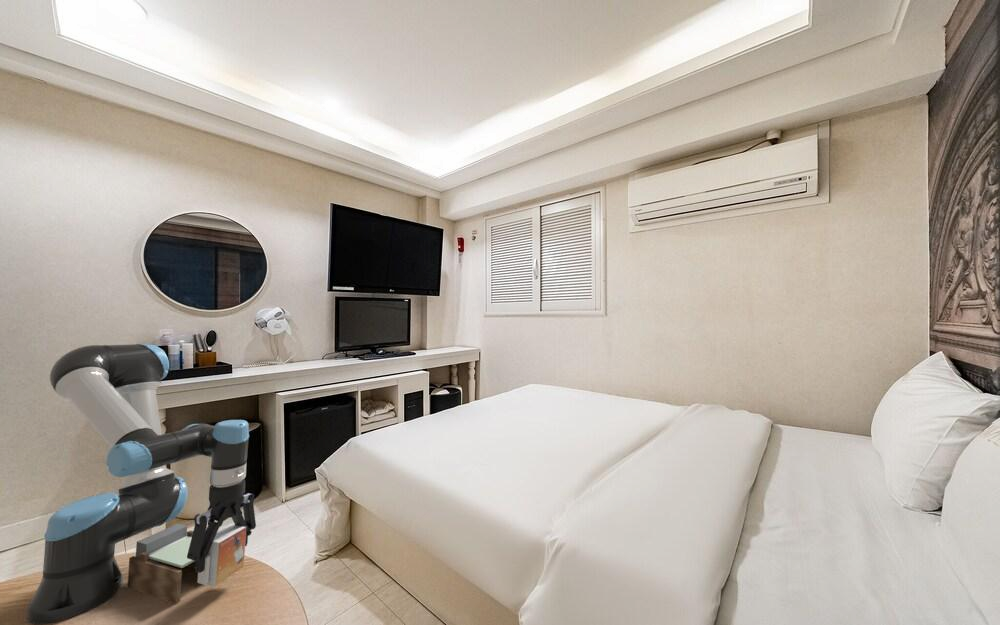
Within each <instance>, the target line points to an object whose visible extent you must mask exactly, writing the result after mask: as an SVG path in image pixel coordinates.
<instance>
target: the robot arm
mask: <svg viewBox="0 0 1000 625" xmlns="http://www.w3.org/2000/svg"><path fill="white" fill-rule="evenodd" d="M169 370H170V362H169V358H168V356H167V354H166V351H165V350H164V349H162V348H160V347H159V346H157V345H154V344H143V343H136V344H109V345H107V344H104V345H103V344H102V345H99V344H93V345H86V346H80V347H77V348H76V349H73V350H70V351H69V352H66V353H65V354H64V355H62V356H61V357H60V358H59V359H58V360H56V362H55V363H54V364H53V366H52V368H51V370H50V373H49V382H50V385H51V386H52V389H53V390H54V391H55V392H56V393H57V395H58V396H60V397H62V398H64V399H69V400H70V401H71V402H72V404H73V405H74V406H75V407H76V408H77V410H79V412H80V413H81V414H82V415H83V417H84V418H85V419H86V420H87V421H88V423H89V424H90V425H91V426H92V427H93V428H94V429H95V431H96V432H97V433H98V435H100V437H101V438H102V439H103V440H104V441H105V443H107V444H106V445H108V446H109V448H110V450H109V451H108V453H107V456H106V467H107V466H108V472H109V473H110V474H111V475H112V476H114V477H116V478H122V477H124V481H123V483H122V484H121V485H120V486H119V487H118V488H117V489H118V494H117V493H115V492H103V493H99V494H96V495H91V496H86V497H84V498H81V499H79V500H76V501H74V502H71V503H69V504H66V505H65V506H62V507H61V508H59V509H58V510H57V511H55V512H54V513H53V514H52V515H51V517H49V520H48V521H47V526H46V531H45V533H44V554H43V556H44V557H43V565H42V566H43V567H42V569H43V570H42V577H41V578H42V579H41V581H40V583H39V585H38V587H37V589H36V591H35V593H34V595H33V597H32V598H31V601H30V603H29V605H28V608H27V617H26V618H27V621H28V623H31V624H37V623H38V624H37V625H39V624H41V623H42V624H50V623H54V622H59V621H62V620H66V619H69V618H72V617H75V616H78V615H80V614H83V613H85V612H87V611H90V610H92V609H93V608H96V607H99V605H101V604H103V603H105V602H106V601H107V600H109V599H111V598H112V597H113V596H114V595H116V594H117V593H118V592H119V590H120V589H121V587H122V585H123V574H122V570H121V569H120V567H119V565H118V563H117V559H116V558H115V551H116V550H115V548H116V545H117V544H118V543H119V542H122V541H124V540H127V539H129V538H131V537H134V536H137V535H139V534H141V533H144V532H146V531H149V530H151V529H154V528H157V527H159V526H162V525H163V524H165V523H168V522H169V521H171V520H174V519H175V518H176V517H178V516H179V515H180V514H181V513H182V511H183V509H184V508H185V506H186V504H187V500H188V492H189V491H188V485H187V483H186V482H185V480H184V478H183V477H179V476H175V471H174V470H172V469H170V468H167V465H170V464H175V463H178V462H181V461H185V460H188V459H191V458H194V457H195V458H196V457H199V456H205V457H209V458H210V457H211V461H210V462H211V463H210V473H209V474H210V476H209V484H210V486H209V489H208V490H209V491H208V501H209V502H208V503H209V506H208V507H207V510H206V511H205V512H203V513H202V514H199V513H197V514H195V516H194V517H193V520H194V527H193V530H192V531H193V535H192V539H191V543H190V546H189V550H188V554H187V558H188V559H191V560H194V561H196V568H194V569H195V572H197V582H196V583H198V584H200V585H203V586H207V585H206V584H208V583H209V569H210V556H209V555H207V554H208V552H209V550H210V547H211V545H212V543H213V540H214V538H215V536H216V534H217V532H218V531H219V528H220V527H222V526H223V524H224V521H226V520H228V519H229V518H230V519H231V520H232V521H233V523H234V524H233V525H236V526H240V527H246V540H245V547H247V546H248V541H249V536H251V535H252V532H253V531H252V530H255V529H256V527H257V524H256V515H255V507H254V500H255V494H254V493H249V492H246V479H245V478H246V476H247V459H248V448H249V438H250V432H249V429H250V428H249V422H248V421H247V420H244V419H228V420H223V421H220V422H219V421H218V422H217V423H216V424H215V425H211V424H208V423H207V424H206V423H192V424H190V425H187V426H186V427H184V428H182V429H181V430H177V431H173V432H168V433H167V432H166V433H162V426H161V420H160V413H159V405H158V398H157V389H158V388H159V387H160V386H161V385H162V380H163V379H164V378H166V377H167V375H168V373H169ZM241 506H242V509H241ZM245 556H246V555H245V553H244V557H245Z"/></svg>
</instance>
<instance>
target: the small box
mask: <svg viewBox="0 0 1000 625" xmlns="http://www.w3.org/2000/svg"><path fill="white" fill-rule="evenodd" d="M245 540H246V527H240V526H236V525H235V524H233V523H232V524H231V523H230V524H228V525H227V526H225V527H223V528H221V529H220V530H219V529H218V531H217V534H216V536H215V538H214V540H213V543H212V545H211V547H210V550H209V552H208V554H207V555H209V556H210V569H209V583H208V584H206V585H205V586H207V585H208V586H212V587H216V586H218V585H219V584H221V583H222V582H224V581H225V580H226V579H228V578H229V577H231V576H232V575H234V574H235V573H237V572H238V571H240V570H241V569H243V568H244V563H245V556H244V553H245V552H246V546H245Z"/></svg>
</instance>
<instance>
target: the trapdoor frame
mask: <svg viewBox="0 0 1000 625" xmlns="http://www.w3.org/2000/svg"><path fill="white" fill-rule="evenodd" d="M193 531H194V530H187V536H189V537H192V535H193ZM128 559H129V560H128V572H127V587H126V588H128V589H131V590H134V591H138V592H140V593H143V594H146V595H149V596H152V597H154V598H155V597H156V598H158V599H161V600H164V601H166V602H170V603H173V604H179V603H180V602H181V594H182V592H181V590H182V589H181V588H182V577H183V576H182V575H183V570H182V569H178V568H175V567H173V565H170V564H166V563H163V562H160V561H158V562H156V563H155V562H152V561H148V559H149V553H146V552H142V553H140V558H138V557H136V555H135V556H134V555H133V556H130V557H129V558H128ZM187 567H191V568H194V569H195V568H196V561H194V562H192V563H190V564H189V565H187Z"/></svg>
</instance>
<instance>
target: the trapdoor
mask: <svg viewBox="0 0 1000 625" xmlns="http://www.w3.org/2000/svg"><path fill="white" fill-rule="evenodd" d="M187 532H188V525H184V524H180V523H176V524H174V525H171V526H168V528H165V529H162V530H161V531H158V532H155V533H153V534H151V535H149V536H146V537H144V538H142V539H140V540H137V541H136V548H135V557H138V558H140V553H142V552H146V553H149V559H148V561H152V562H155V563H156V562H158V561H160V562H163V563H166V564H170V565H173V566H174V567H177V568H180V569H183V568H185V567H186V566H187V565H189V564H190V563H192V562H194V560H191V559H188V558H187V554H188V550H189V546H190V543H191V539H192V537H189V536H187ZM173 566H172V567H173ZM187 567H188V566H187Z"/></svg>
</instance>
